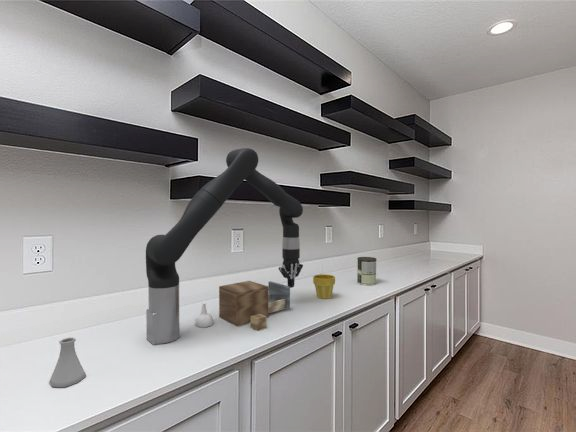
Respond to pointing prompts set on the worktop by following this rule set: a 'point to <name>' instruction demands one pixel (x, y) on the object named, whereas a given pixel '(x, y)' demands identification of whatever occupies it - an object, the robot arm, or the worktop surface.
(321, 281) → the plant pot
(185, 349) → the worktop surface
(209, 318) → the garlic bulb
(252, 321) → the wooden block
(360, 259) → the coffee can
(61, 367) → the flask
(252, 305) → the housing
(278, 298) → the drawer
